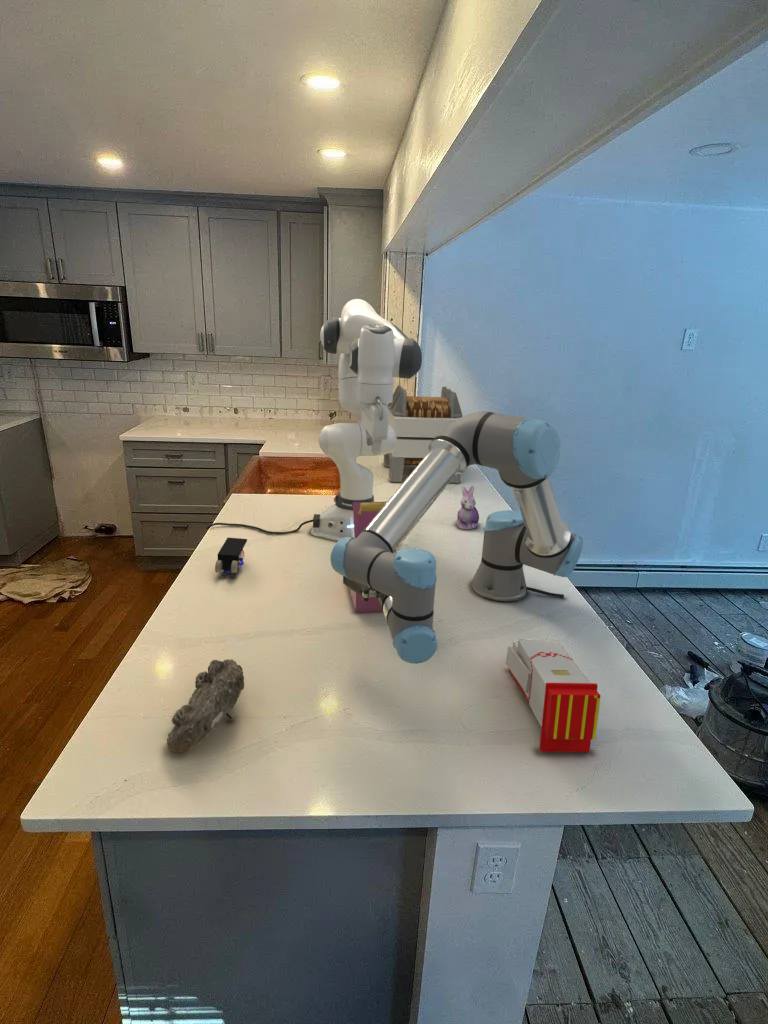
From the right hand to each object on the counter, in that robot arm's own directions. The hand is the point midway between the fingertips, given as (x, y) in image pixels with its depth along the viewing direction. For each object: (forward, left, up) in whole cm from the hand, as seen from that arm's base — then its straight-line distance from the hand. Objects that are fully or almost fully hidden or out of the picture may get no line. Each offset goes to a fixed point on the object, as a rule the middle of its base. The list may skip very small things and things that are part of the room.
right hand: (382, 560), depth 133 cm
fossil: (+37, +27, -19) cm, 49 cm away
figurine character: (+38, -38, -19) cm, 57 cm away
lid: (0, -15, 0) cm, 15 cm away
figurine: (-45, -68, -19) cm, 84 cm away
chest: (0, -18, -19) cm, 26 cm away
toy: (-29, +31, -19) cm, 46 cm away
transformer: (-43, -138, -19) cm, 146 cm away
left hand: (0, -20, +22) cm, 29 cm away
